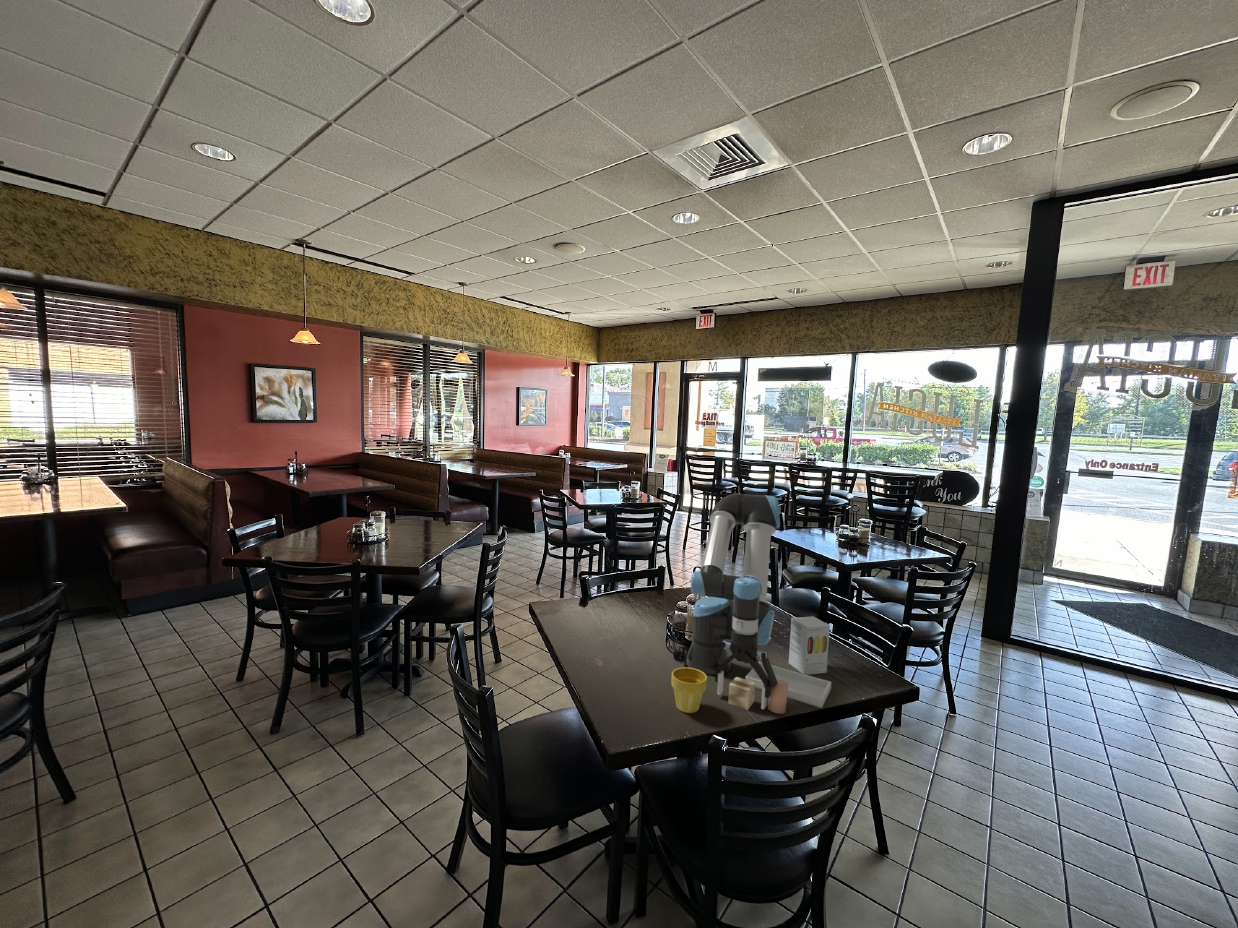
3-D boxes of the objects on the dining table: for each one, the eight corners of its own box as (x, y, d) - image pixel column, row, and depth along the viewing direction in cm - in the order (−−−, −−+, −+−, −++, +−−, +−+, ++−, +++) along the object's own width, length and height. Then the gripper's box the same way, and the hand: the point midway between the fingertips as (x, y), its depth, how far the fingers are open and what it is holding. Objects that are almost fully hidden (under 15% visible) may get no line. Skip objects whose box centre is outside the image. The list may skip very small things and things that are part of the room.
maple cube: (728, 703, 152) (729, 684, 151) (735, 695, 157) (736, 676, 156) (747, 710, 149) (748, 690, 148) (754, 701, 154) (755, 682, 153)
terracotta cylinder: (765, 709, 148) (768, 682, 148) (770, 703, 152) (773, 677, 152) (782, 715, 145) (785, 687, 145) (787, 709, 150) (790, 682, 150)
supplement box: (803, 675, 171) (806, 627, 170) (787, 663, 180) (790, 617, 179) (827, 672, 174) (830, 624, 172) (810, 660, 182) (813, 615, 181)
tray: (744, 684, 164) (745, 676, 163) (758, 668, 175) (758, 661, 175) (821, 708, 151) (822, 699, 150) (830, 689, 162) (831, 681, 162)
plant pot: (701, 697, 155) (703, 666, 154) (709, 716, 144) (710, 683, 144) (668, 697, 154) (669, 666, 154) (673, 716, 144) (674, 683, 143)
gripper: (701, 624, 155) (697, 692, 156) (783, 644, 141) (779, 718, 142) (710, 617, 161) (707, 682, 162) (790, 636, 147) (786, 707, 148)
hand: (741, 699), depth 152 cm, fingers open, 13 cm apart
